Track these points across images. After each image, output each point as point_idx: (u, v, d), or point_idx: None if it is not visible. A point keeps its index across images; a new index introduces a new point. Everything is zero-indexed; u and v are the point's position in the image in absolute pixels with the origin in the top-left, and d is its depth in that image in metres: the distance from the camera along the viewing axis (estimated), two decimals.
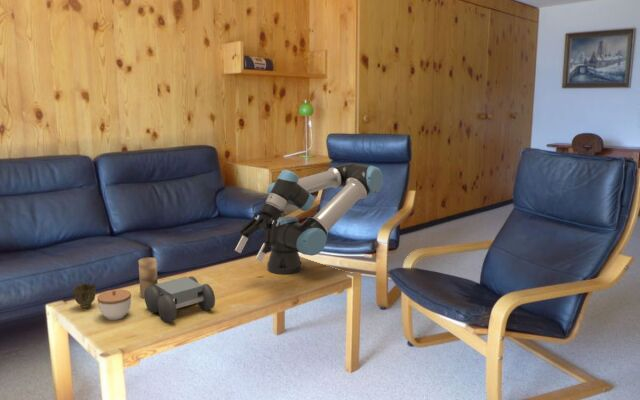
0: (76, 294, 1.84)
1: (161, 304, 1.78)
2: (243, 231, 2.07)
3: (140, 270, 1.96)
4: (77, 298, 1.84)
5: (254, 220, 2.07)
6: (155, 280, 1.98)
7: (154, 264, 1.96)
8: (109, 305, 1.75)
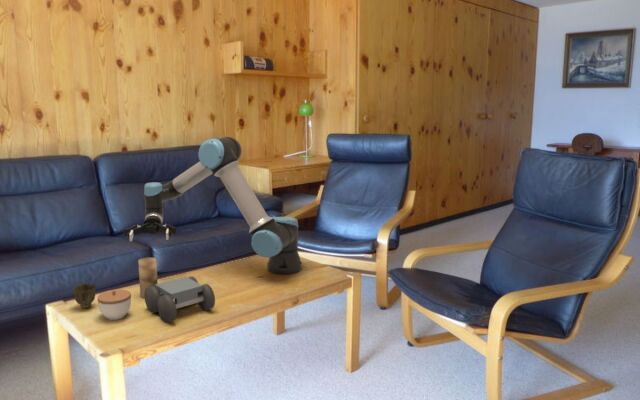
0: (76, 294, 1.84)
1: (161, 304, 1.78)
2: None
3: (140, 270, 1.95)
4: (77, 298, 1.84)
5: None
6: (155, 280, 1.98)
7: (154, 264, 1.96)
8: (109, 305, 1.75)
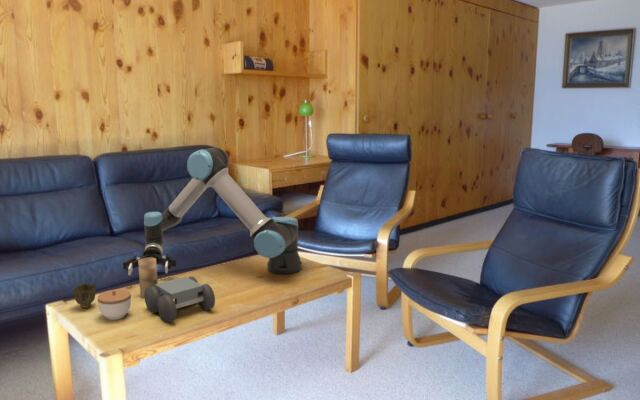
0: (76, 294, 1.84)
1: (161, 304, 1.78)
2: None
3: (140, 270, 1.95)
4: (77, 298, 1.84)
5: None
6: (155, 280, 1.98)
7: (154, 264, 1.96)
8: (109, 305, 1.75)
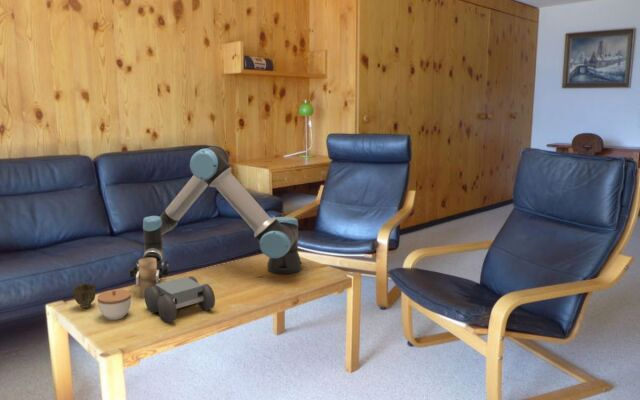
0: (76, 294, 1.84)
1: (161, 304, 1.78)
2: None
3: (140, 270, 1.96)
4: (77, 298, 1.84)
5: (163, 267, 2.09)
6: (155, 280, 1.98)
7: (154, 264, 1.96)
8: (109, 305, 1.75)
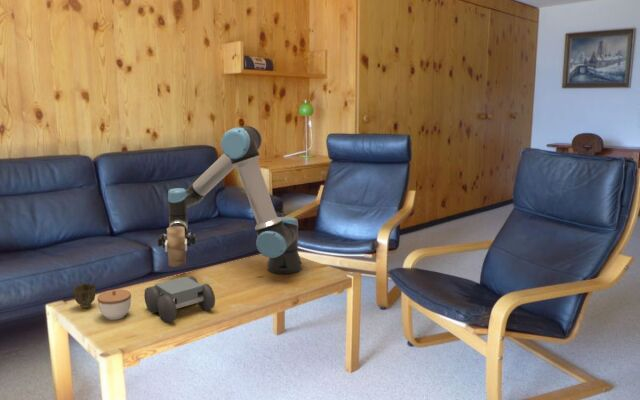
0: (76, 294, 1.84)
1: (161, 304, 1.78)
2: None
3: (169, 238, 1.95)
4: (77, 298, 1.84)
5: (190, 237, 2.09)
6: (183, 248, 1.98)
7: (182, 232, 1.96)
8: (108, 305, 1.75)
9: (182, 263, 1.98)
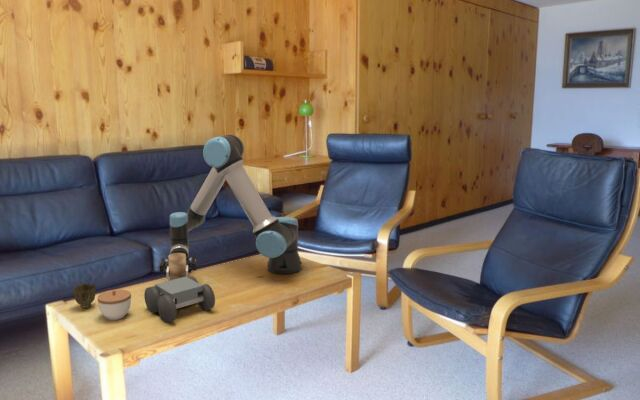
0: (76, 294, 1.84)
1: (161, 304, 1.78)
2: None
3: (170, 265, 1.98)
4: (77, 298, 1.84)
5: (191, 262, 2.11)
6: (185, 275, 2.00)
7: (184, 259, 1.99)
8: (109, 305, 1.75)
9: None
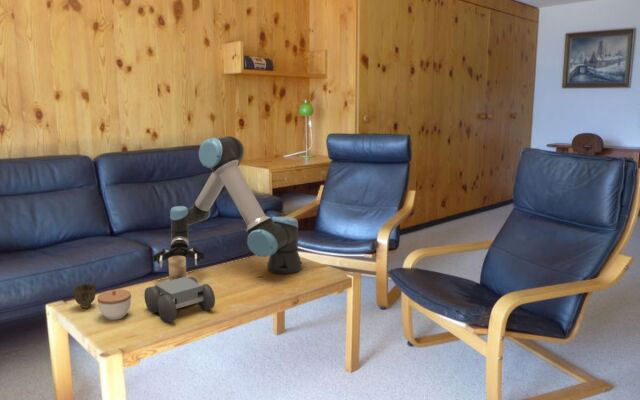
0: (76, 294, 1.84)
1: (161, 304, 1.78)
2: None
3: (170, 268, 1.98)
4: (77, 298, 1.84)
5: None
6: None
7: (184, 262, 1.99)
8: (109, 305, 1.75)
9: None
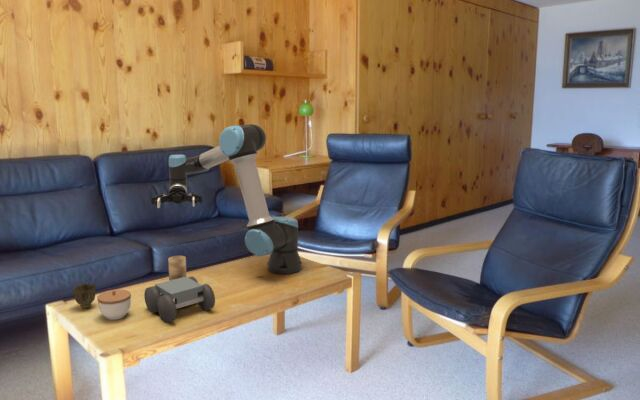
0: (76, 294, 1.84)
1: (161, 304, 1.78)
2: (198, 200, 2.19)
3: (170, 268, 1.98)
4: (77, 298, 1.84)
5: None
6: None
7: (184, 262, 1.99)
8: (108, 305, 1.75)
9: None
